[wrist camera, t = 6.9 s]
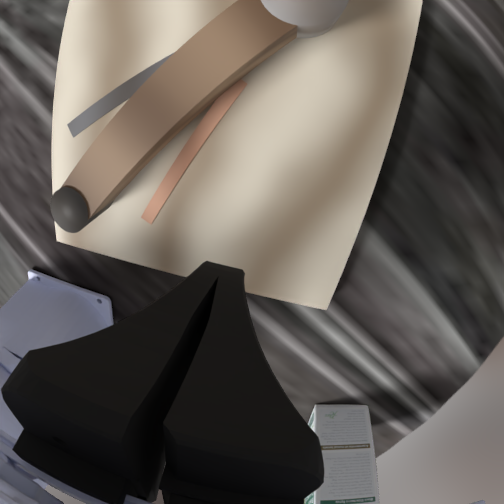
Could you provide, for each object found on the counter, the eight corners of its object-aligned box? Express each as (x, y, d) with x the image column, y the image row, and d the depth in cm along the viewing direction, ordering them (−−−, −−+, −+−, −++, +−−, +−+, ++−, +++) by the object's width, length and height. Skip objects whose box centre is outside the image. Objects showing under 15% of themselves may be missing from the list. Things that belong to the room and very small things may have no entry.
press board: (67, 232, 22) (56, 241, 20) (92, -31, 12) (79, -36, 10) (324, 296, 22) (326, 311, 20) (413, 6, 12) (423, 0, 10)
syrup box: (313, 403, 28) (308, 542, 15) (370, 403, 27) (382, 536, 15) (305, 429, 31) (298, 549, 18) (356, 430, 30) (360, 545, 18)
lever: (305, -35, 10) (307, -61, 7) (354, 15, 11) (368, -2, 9) (70, 184, 17) (39, 202, 15) (105, 223, 19) (78, 247, 16)
